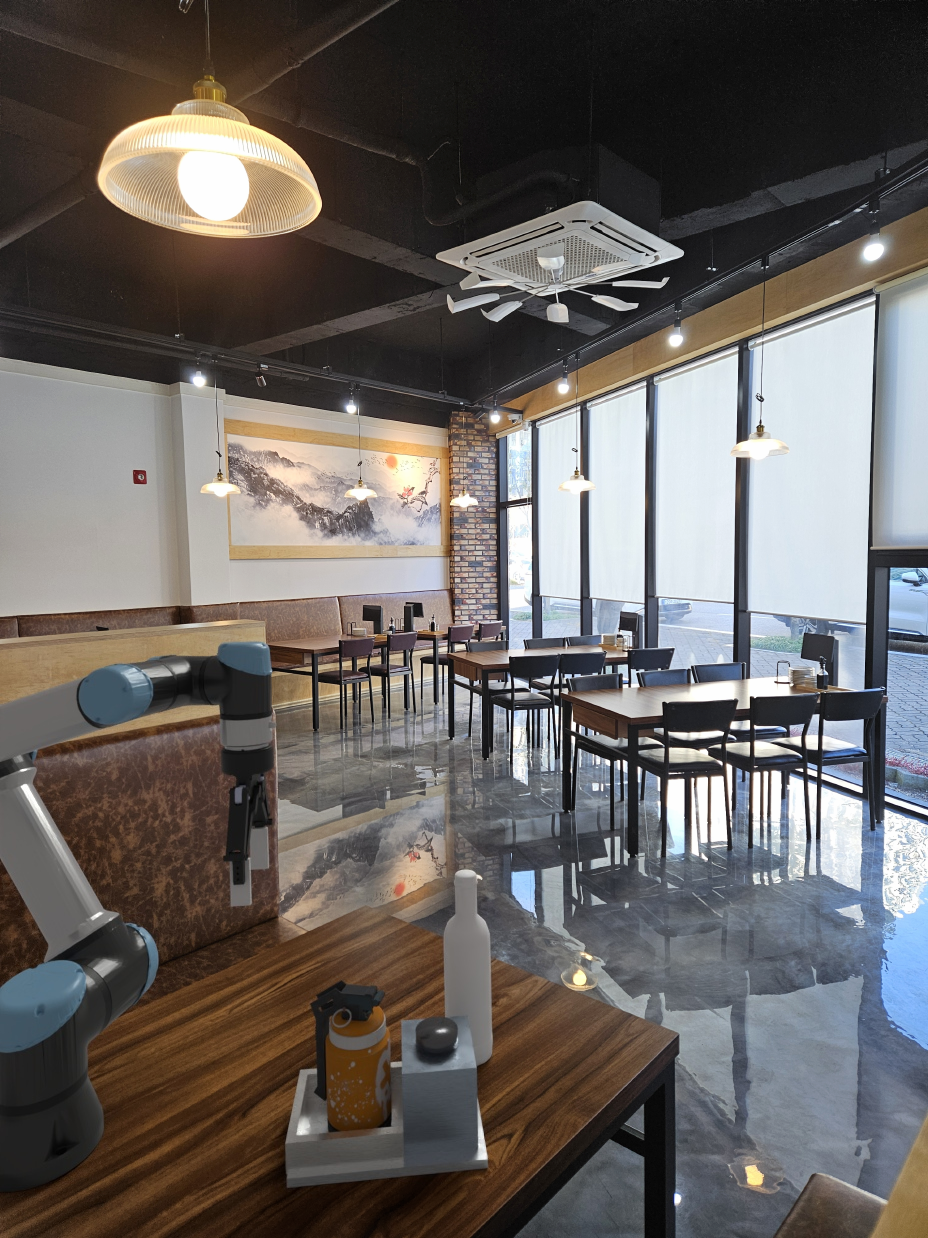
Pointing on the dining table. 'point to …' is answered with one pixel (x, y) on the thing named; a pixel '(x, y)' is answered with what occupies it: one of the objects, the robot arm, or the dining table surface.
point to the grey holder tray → (398, 1115)
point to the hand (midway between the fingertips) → (251, 885)
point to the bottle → (469, 966)
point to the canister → (353, 1057)
